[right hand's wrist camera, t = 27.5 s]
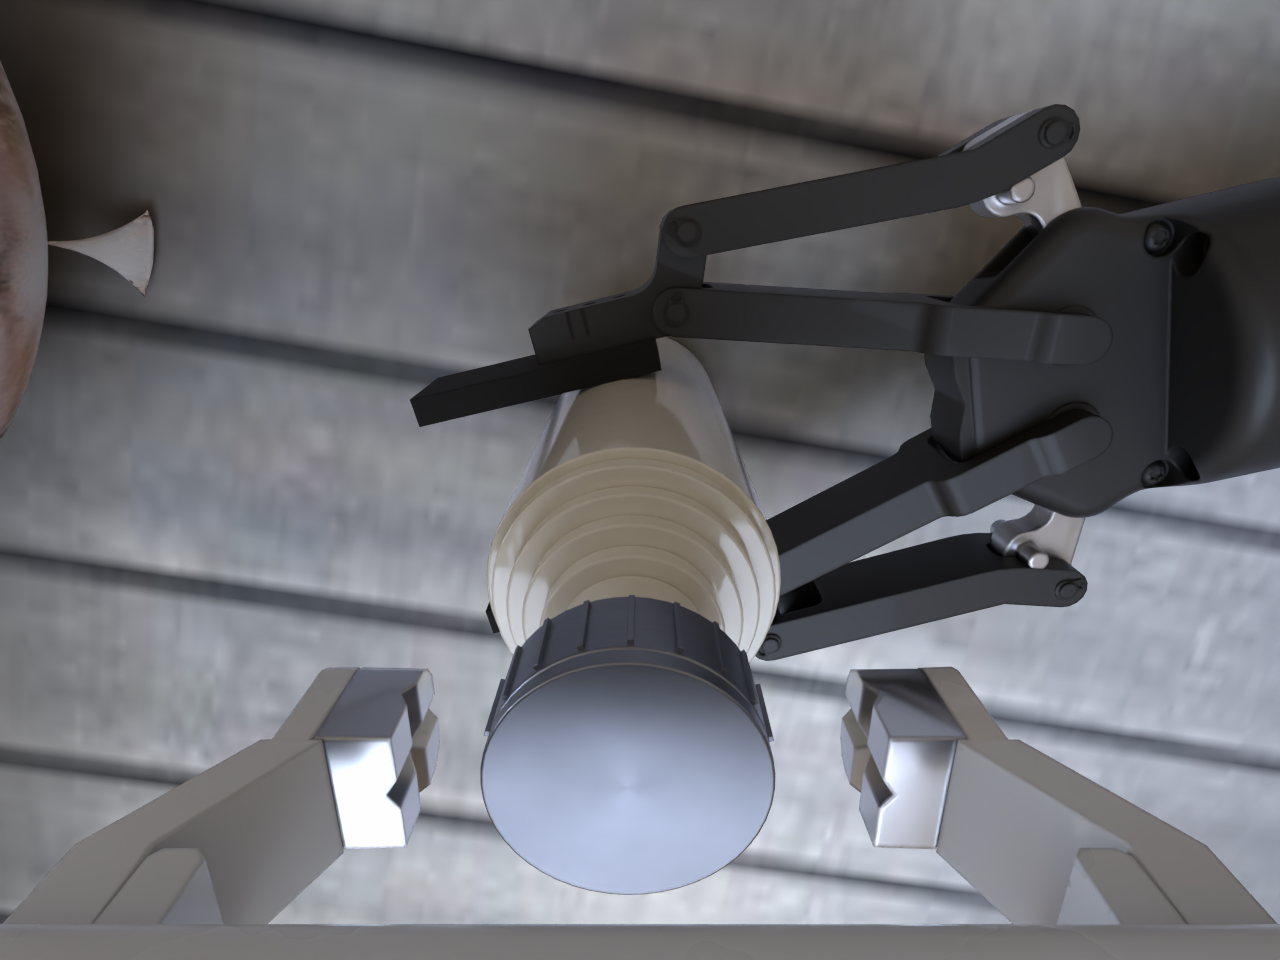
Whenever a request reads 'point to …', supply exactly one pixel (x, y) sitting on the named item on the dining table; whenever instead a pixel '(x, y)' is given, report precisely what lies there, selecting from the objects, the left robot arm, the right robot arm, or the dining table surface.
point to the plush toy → (42, 255)
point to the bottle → (637, 510)
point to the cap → (628, 748)
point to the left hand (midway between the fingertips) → (467, 505)
